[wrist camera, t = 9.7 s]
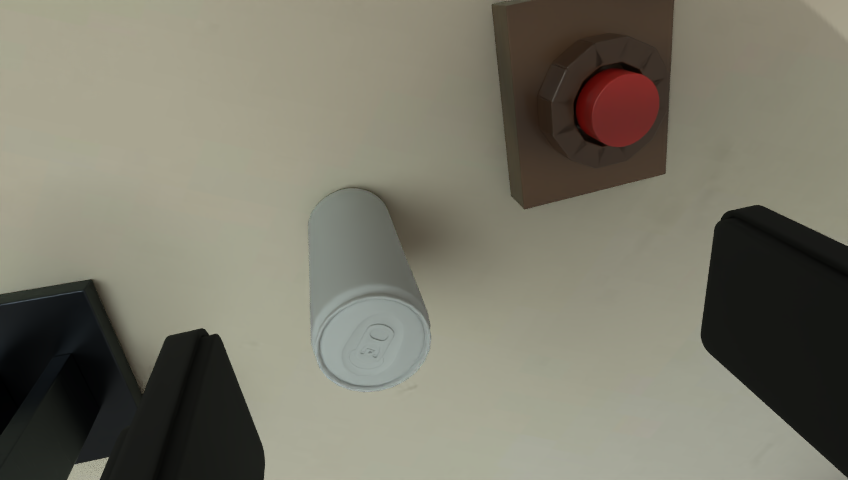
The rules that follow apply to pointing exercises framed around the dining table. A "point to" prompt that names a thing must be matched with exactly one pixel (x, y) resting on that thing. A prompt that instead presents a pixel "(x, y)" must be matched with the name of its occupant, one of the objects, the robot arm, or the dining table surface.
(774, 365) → the robot arm
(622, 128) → the button
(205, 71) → the dining table surface
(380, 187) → the dining table surface
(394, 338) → the beverage can
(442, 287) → the dining table surface
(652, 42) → the button block
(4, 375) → the bracket
